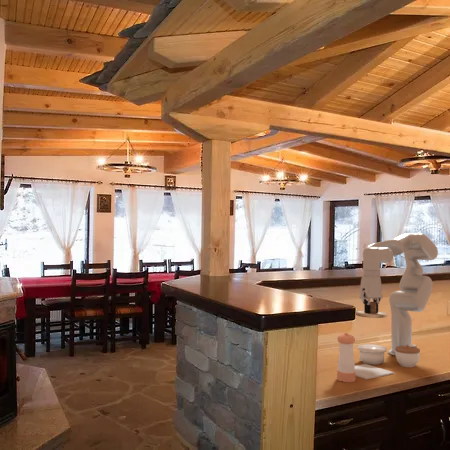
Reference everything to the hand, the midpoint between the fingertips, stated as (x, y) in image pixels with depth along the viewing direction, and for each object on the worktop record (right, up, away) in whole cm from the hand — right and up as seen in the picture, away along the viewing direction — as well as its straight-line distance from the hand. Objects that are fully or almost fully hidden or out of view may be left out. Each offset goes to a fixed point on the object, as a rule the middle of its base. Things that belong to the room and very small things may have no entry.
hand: (371, 312), depth 227 cm
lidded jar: (+15, -24, -5) cm, 29 cm away
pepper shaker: (-19, -23, -28) cm, 40 cm away
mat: (-7, -23, -16) cm, 29 cm away
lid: (0, -1, 0) cm, 1 cm away
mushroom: (0, -23, 0) cm, 23 cm away
